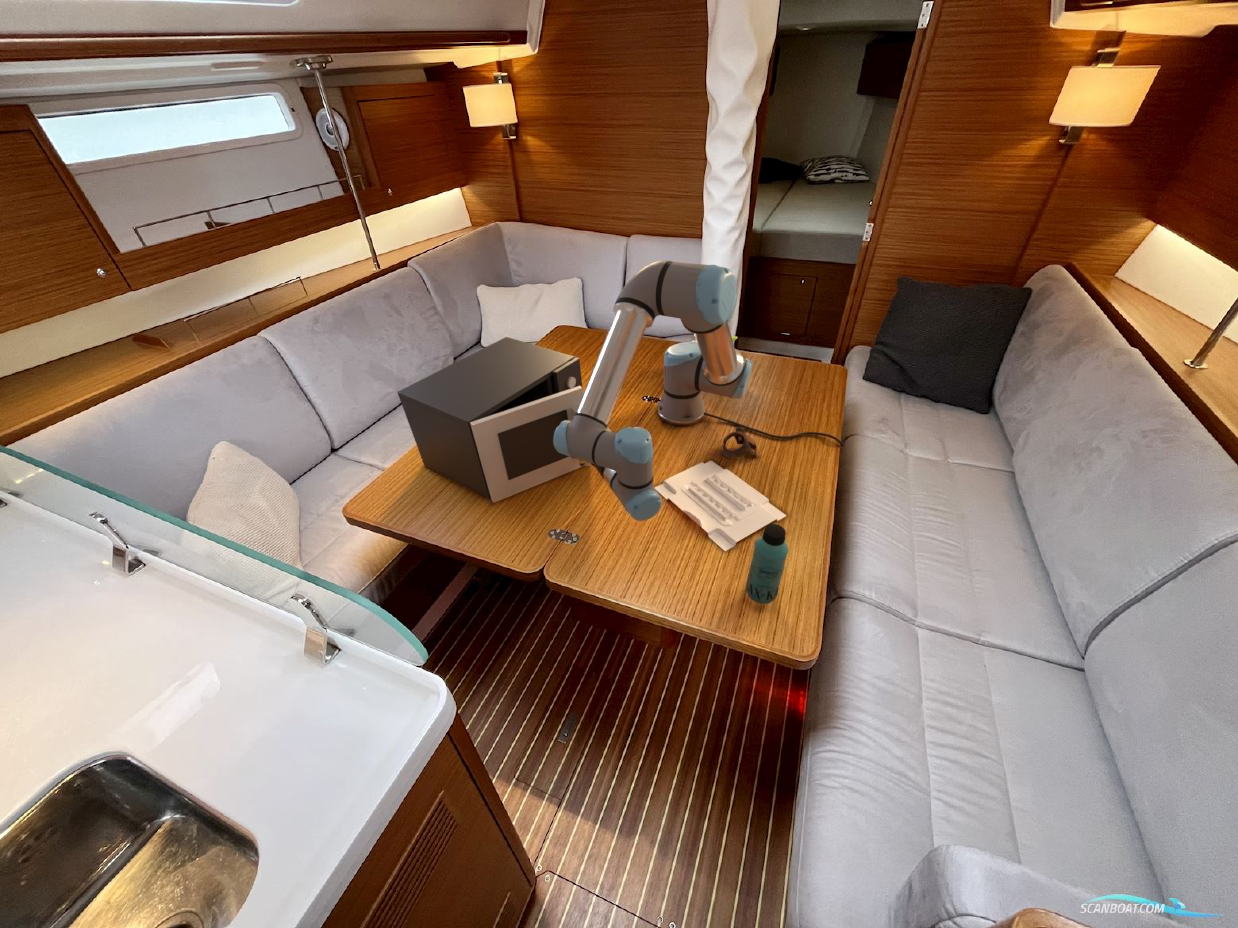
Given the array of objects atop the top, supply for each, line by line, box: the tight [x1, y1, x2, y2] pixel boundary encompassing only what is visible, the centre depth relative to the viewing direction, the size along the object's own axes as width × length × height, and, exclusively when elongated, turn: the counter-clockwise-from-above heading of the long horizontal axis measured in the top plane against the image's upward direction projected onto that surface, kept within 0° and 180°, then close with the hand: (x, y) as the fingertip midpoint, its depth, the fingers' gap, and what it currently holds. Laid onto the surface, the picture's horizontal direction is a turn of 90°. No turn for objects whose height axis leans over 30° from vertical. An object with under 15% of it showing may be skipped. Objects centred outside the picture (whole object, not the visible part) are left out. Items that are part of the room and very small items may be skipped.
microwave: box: [396, 336, 583, 501], centre depth 144 cm, size 30×40×25 cm
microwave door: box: [470, 386, 592, 504], centre depth 128 cm, size 8×30×25 cm, turn 122°
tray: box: [654, 460, 787, 552], centre depth 127 cm, size 20×28×4 cm
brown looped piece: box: [721, 426, 758, 459], centre depth 142 cm, size 12×10×8 cm
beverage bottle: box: [745, 523, 789, 605], centre depth 98 cm, size 6×7×20 cm
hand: (579, 421), depth 132 cm, fingers closed on microwave door, 2 cm apart
